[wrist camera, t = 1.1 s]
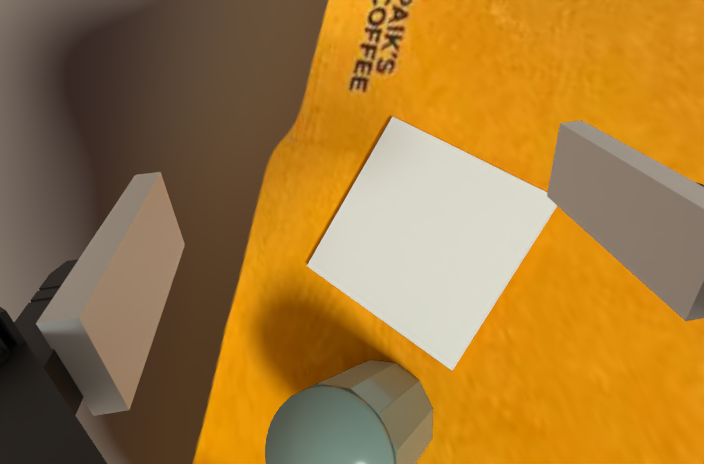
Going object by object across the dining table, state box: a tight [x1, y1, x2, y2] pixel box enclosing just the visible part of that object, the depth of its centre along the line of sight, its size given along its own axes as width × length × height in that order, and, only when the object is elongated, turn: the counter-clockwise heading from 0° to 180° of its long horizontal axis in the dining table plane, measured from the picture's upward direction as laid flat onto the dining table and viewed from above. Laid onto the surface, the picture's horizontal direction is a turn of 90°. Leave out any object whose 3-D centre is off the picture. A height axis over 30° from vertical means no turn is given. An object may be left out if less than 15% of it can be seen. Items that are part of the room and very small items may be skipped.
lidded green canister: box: [265, 360, 433, 464], centre depth 33 cm, size 9×9×11 cm
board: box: [307, 117, 557, 370], centre depth 38 cm, size 16×16×1 cm
